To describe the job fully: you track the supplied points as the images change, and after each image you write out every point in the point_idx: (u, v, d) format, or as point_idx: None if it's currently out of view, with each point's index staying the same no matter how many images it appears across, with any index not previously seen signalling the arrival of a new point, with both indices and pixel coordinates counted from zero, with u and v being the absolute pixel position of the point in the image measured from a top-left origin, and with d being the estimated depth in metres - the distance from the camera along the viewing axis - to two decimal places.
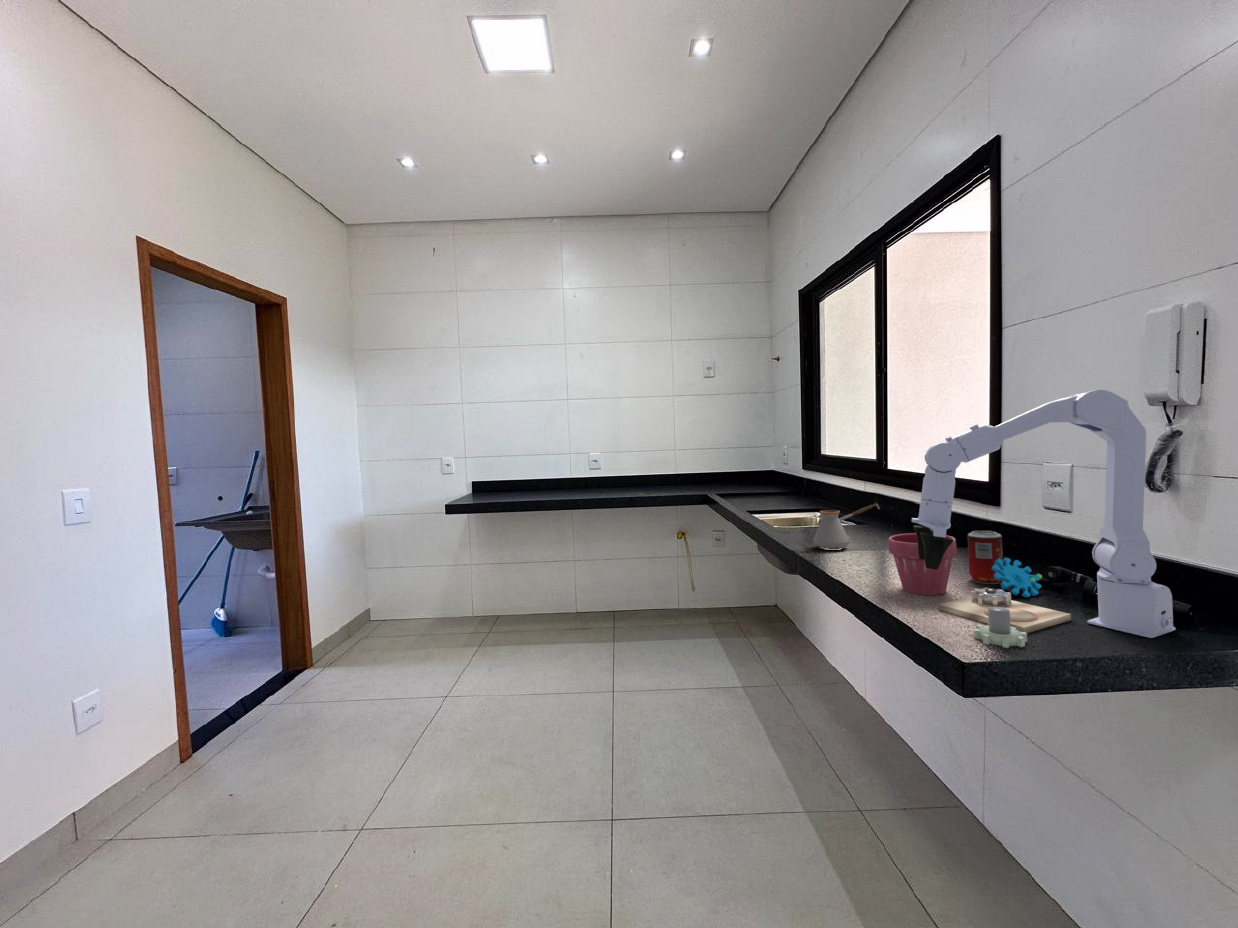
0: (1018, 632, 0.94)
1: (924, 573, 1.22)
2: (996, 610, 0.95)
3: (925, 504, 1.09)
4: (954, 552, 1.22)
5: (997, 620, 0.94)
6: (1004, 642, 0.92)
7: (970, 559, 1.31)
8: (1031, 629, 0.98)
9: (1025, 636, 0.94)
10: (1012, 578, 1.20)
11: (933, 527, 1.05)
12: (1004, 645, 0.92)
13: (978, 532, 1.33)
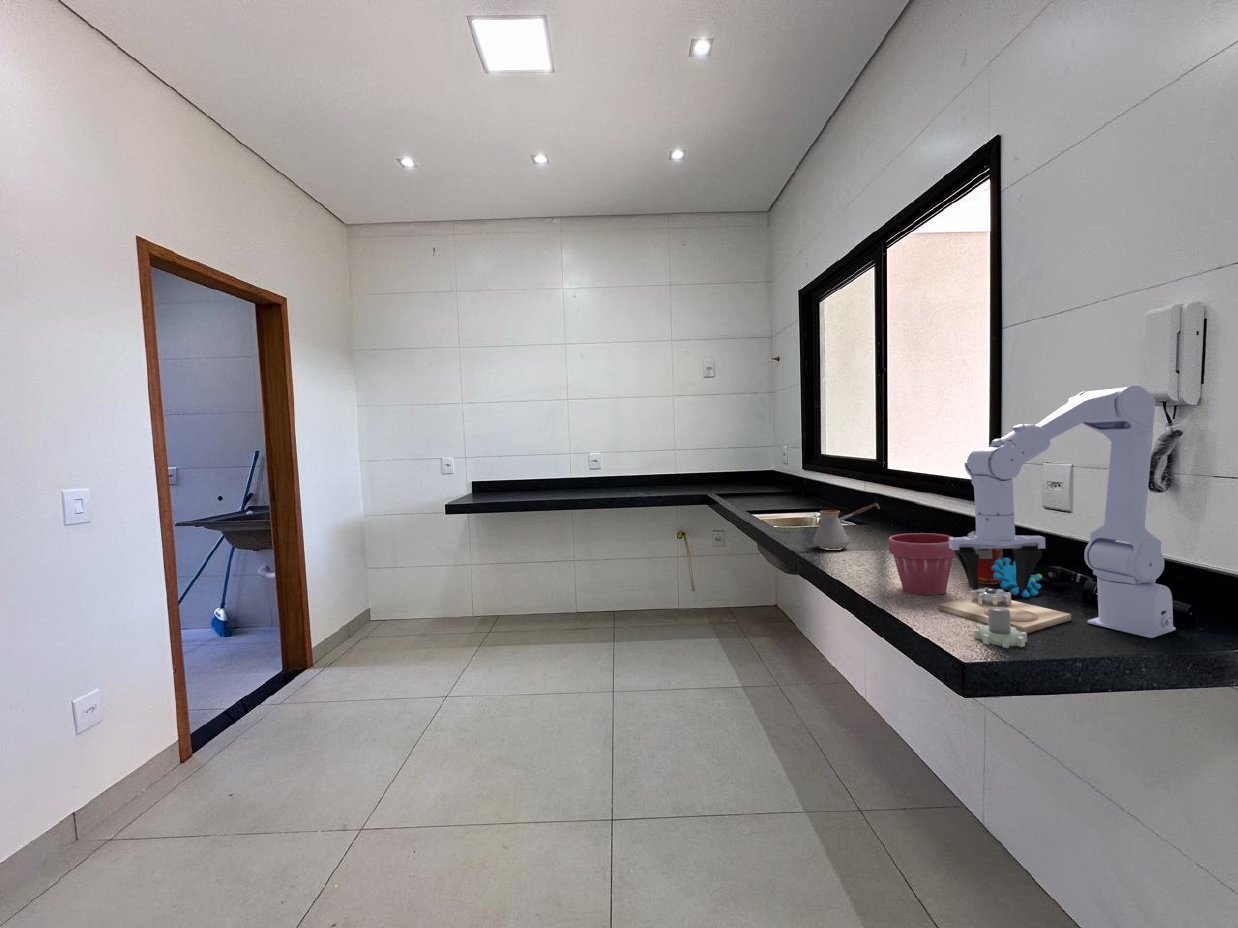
0: (1018, 632, 0.94)
1: (924, 573, 1.22)
2: (996, 610, 0.95)
3: (1011, 519, 0.92)
4: (954, 552, 1.22)
5: (997, 620, 0.94)
6: (1004, 642, 0.92)
7: None
8: (1031, 629, 0.98)
9: (1025, 636, 0.94)
10: (1012, 578, 1.20)
11: (1038, 540, 0.92)
12: (1004, 645, 0.92)
13: None
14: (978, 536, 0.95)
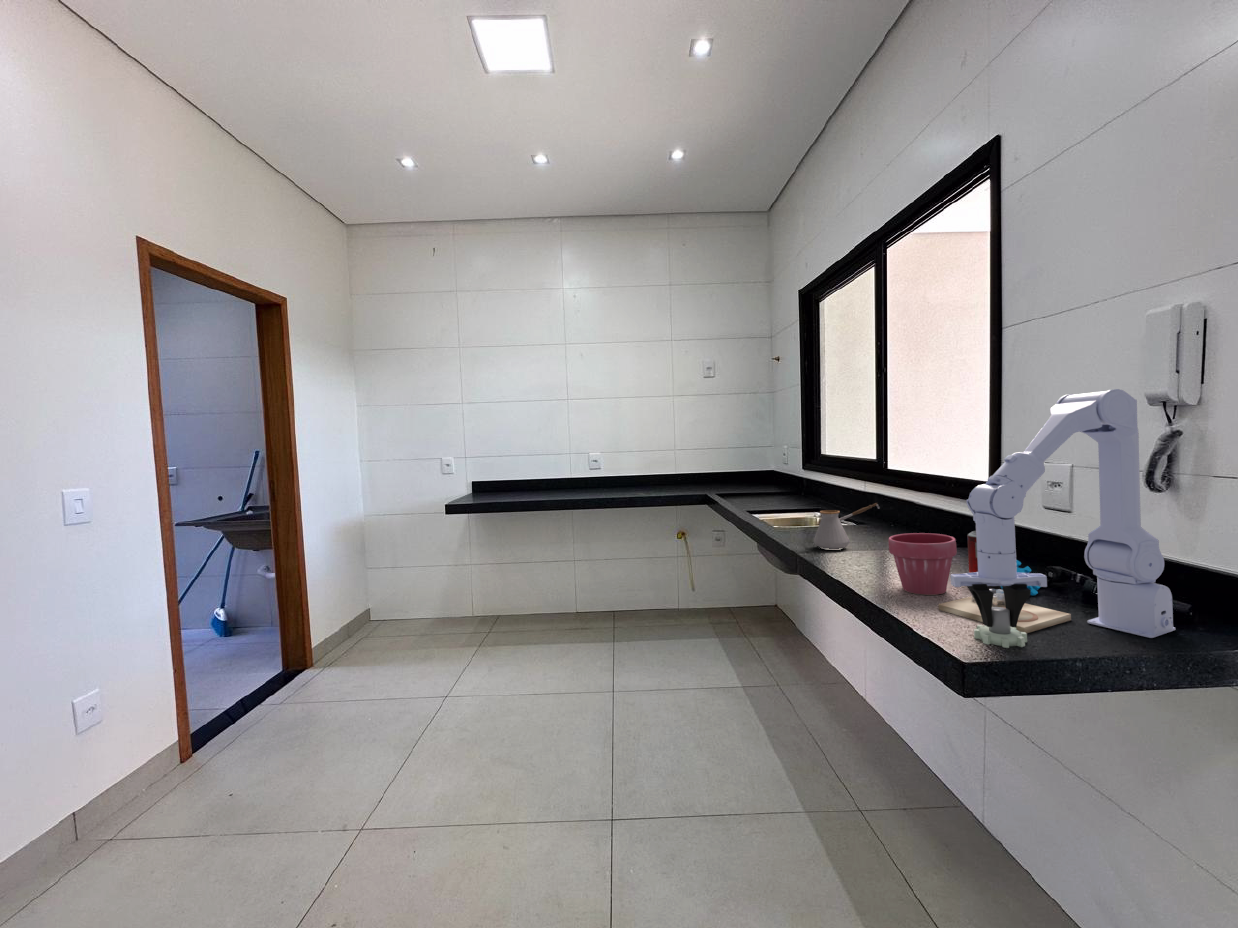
0: (1018, 632, 0.94)
1: (924, 573, 1.22)
2: (996, 610, 0.95)
3: (1013, 558, 0.93)
4: (954, 552, 1.22)
5: (997, 620, 0.94)
6: (1004, 642, 0.92)
7: (970, 559, 1.31)
8: (1031, 629, 0.98)
9: (1025, 636, 0.94)
10: None
11: (1040, 578, 0.93)
12: (1004, 645, 0.92)
13: None
14: (980, 573, 0.96)
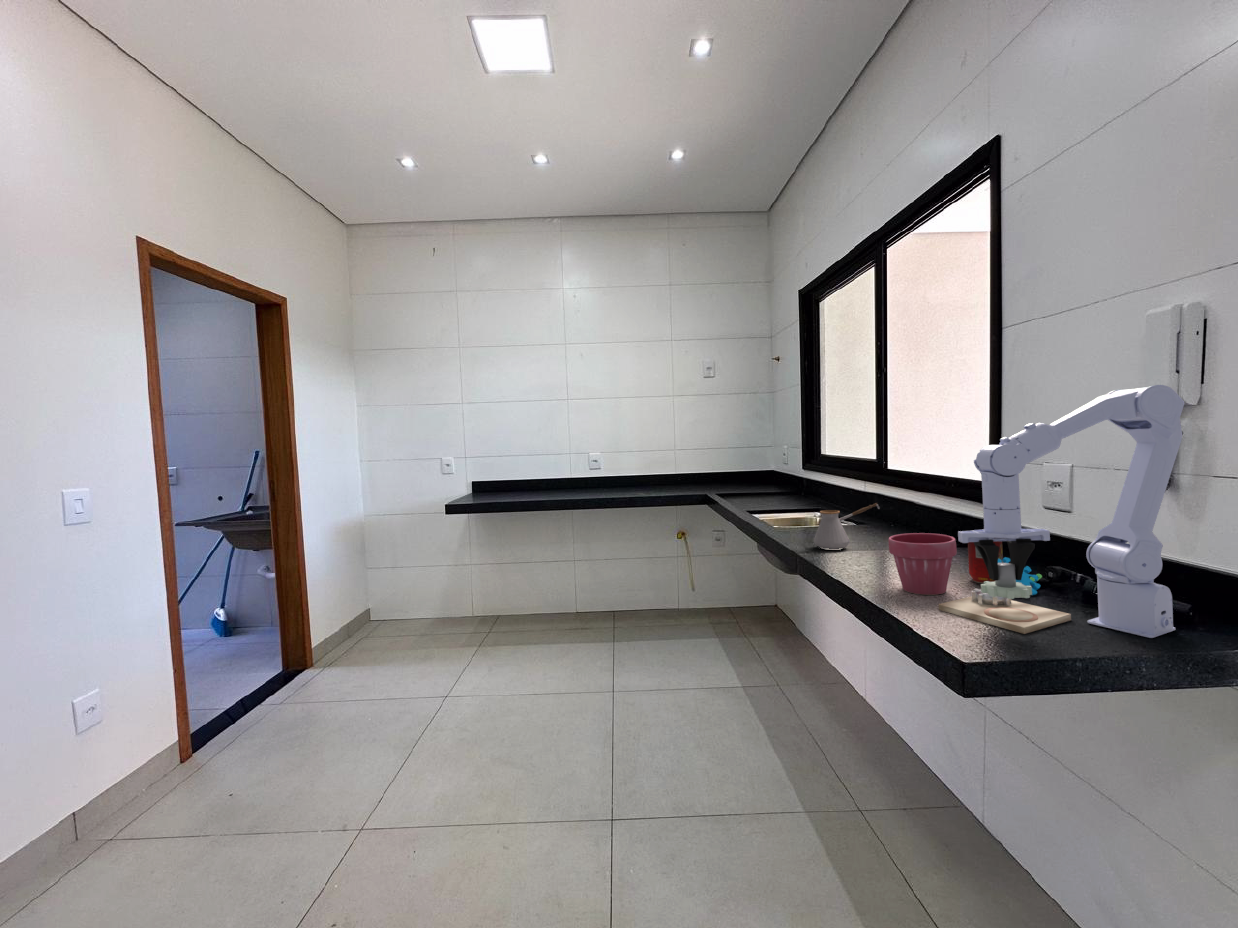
0: (1023, 586, 0.99)
1: (924, 573, 1.22)
2: (1002, 565, 1.00)
3: (1018, 513, 0.97)
4: (954, 552, 1.22)
5: (1002, 574, 0.99)
6: (1009, 594, 0.97)
7: (970, 559, 1.31)
8: (1031, 629, 0.98)
9: (1030, 589, 0.98)
10: None
11: (1043, 532, 0.97)
12: (1009, 596, 0.97)
13: None
14: (986, 529, 1.00)
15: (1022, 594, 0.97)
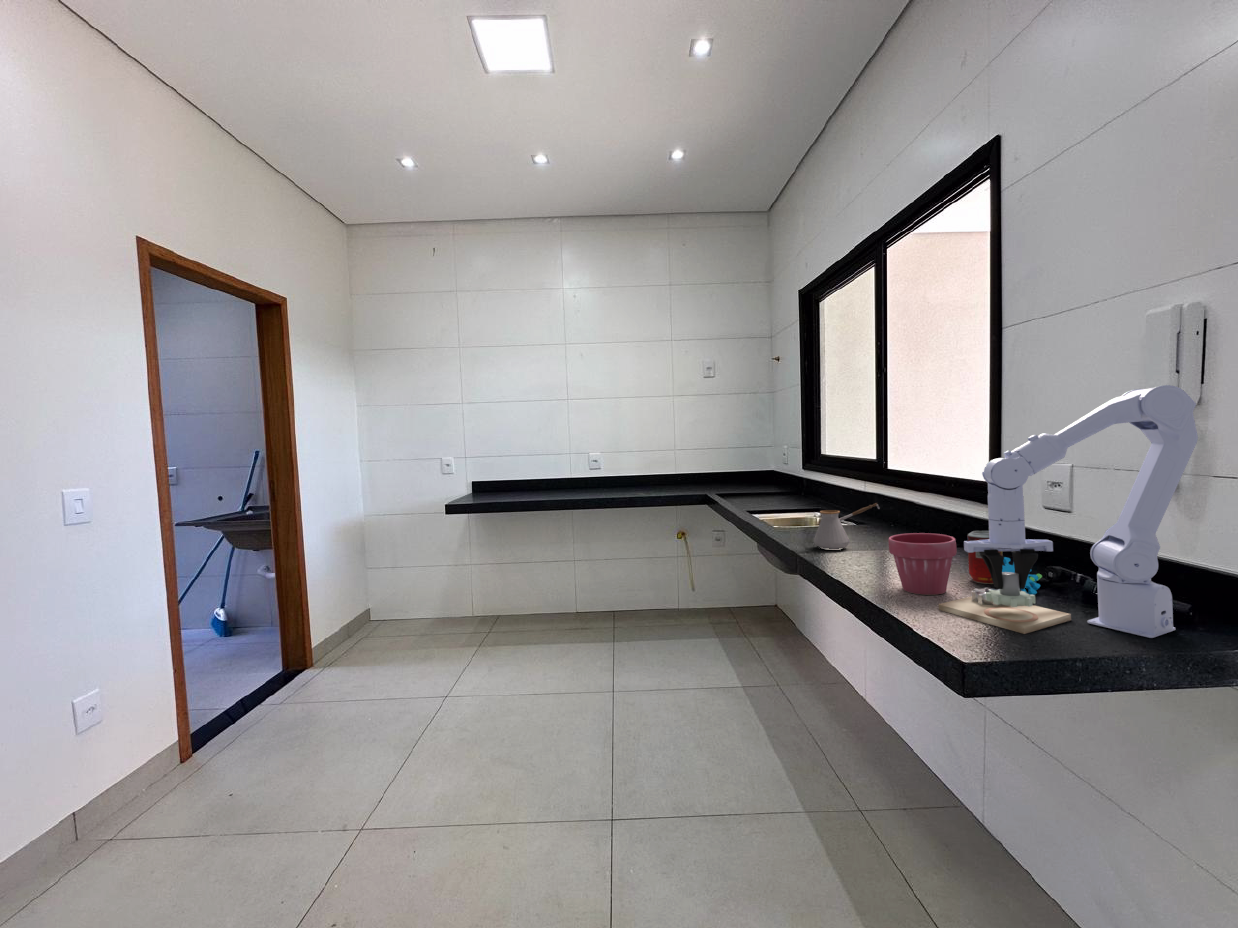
0: (1027, 594, 1.03)
1: (924, 573, 1.22)
2: (1006, 574, 1.04)
3: (1022, 525, 1.01)
4: (954, 552, 1.22)
5: (1006, 582, 1.03)
6: (1012, 602, 1.01)
7: (970, 559, 1.31)
8: (1031, 629, 0.98)
9: (1033, 598, 1.02)
10: None
11: (1047, 543, 1.01)
12: (1013, 604, 1.01)
13: (978, 532, 1.33)
14: (991, 540, 1.04)
15: (1025, 602, 1.01)
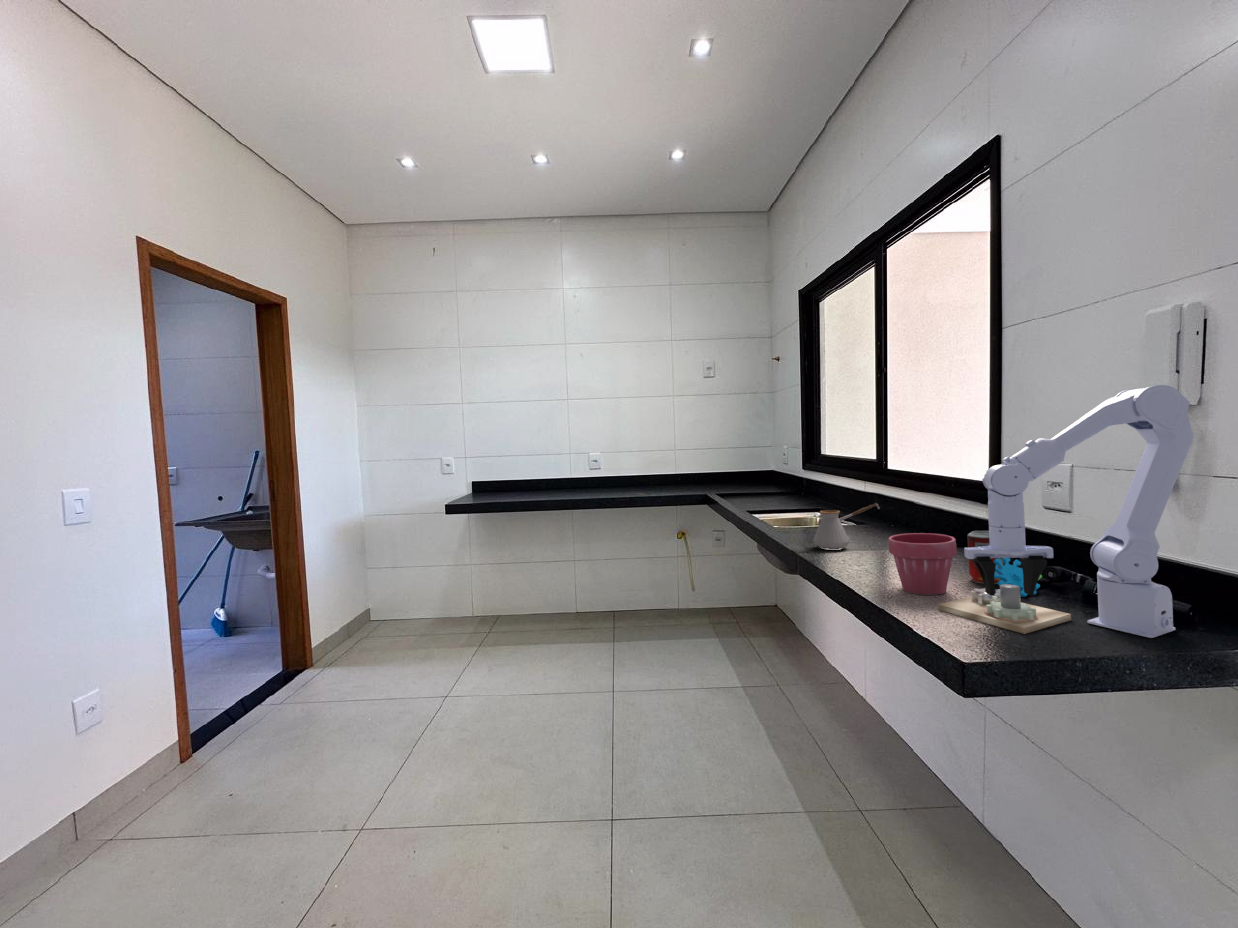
0: (1028, 607, 1.03)
1: (924, 573, 1.22)
2: (1007, 587, 1.03)
3: (1022, 531, 1.01)
4: (954, 552, 1.22)
5: (1007, 596, 1.03)
6: (1013, 615, 1.01)
7: (970, 559, 1.31)
8: (1031, 629, 0.98)
9: (1034, 611, 1.02)
10: (1010, 577, 1.20)
11: (1047, 550, 1.01)
12: (1013, 618, 1.01)
13: (978, 532, 1.33)
14: (991, 546, 1.04)
15: (1026, 616, 1.01)
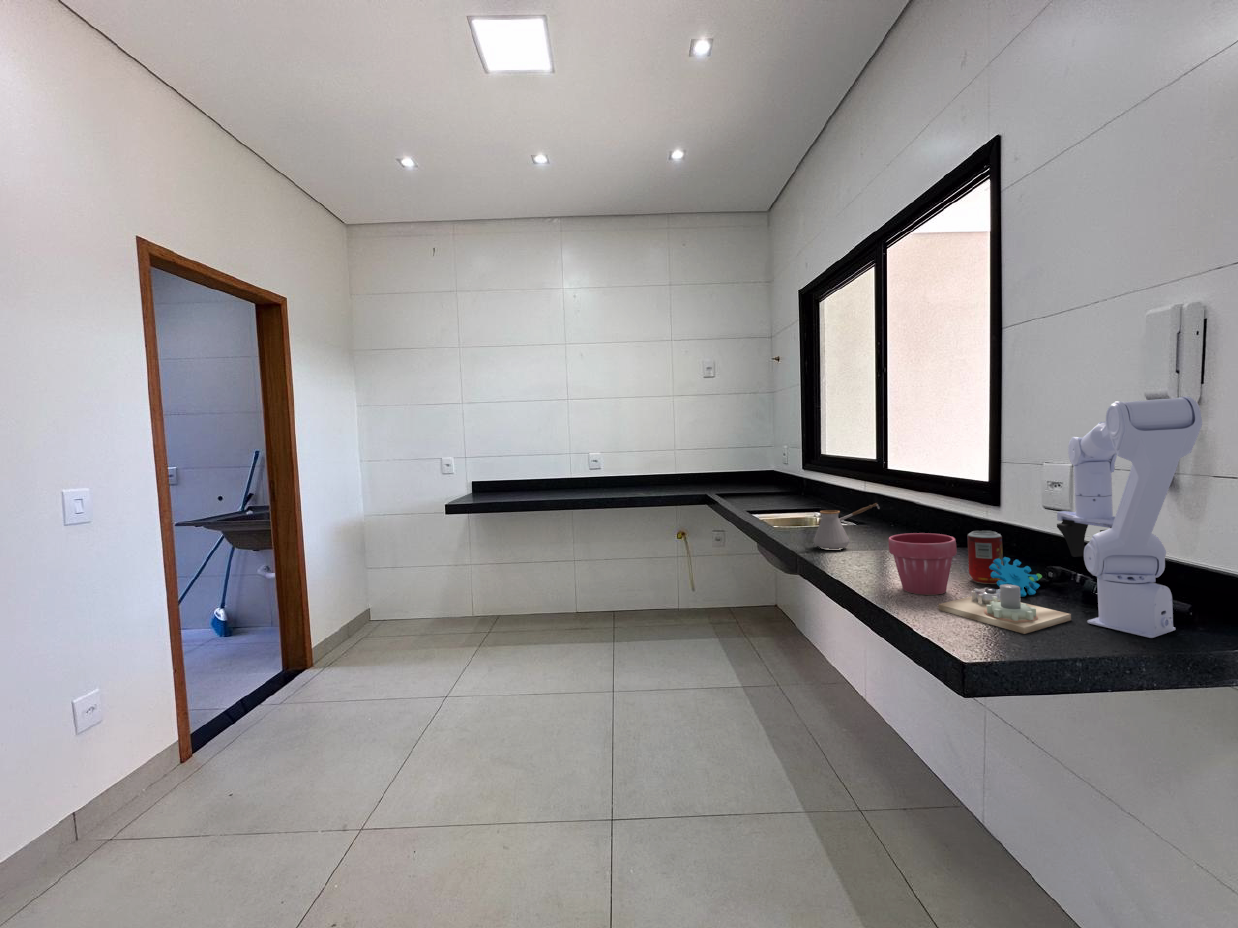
0: (1028, 607, 1.03)
1: (924, 573, 1.22)
2: (1007, 587, 1.03)
3: (1091, 501, 1.06)
4: (954, 552, 1.22)
5: (1007, 596, 1.03)
6: (1013, 615, 1.01)
7: (970, 559, 1.31)
8: (1031, 629, 0.98)
9: (1034, 611, 1.02)
10: (1009, 577, 1.20)
11: None
12: (1013, 618, 1.01)
13: (978, 532, 1.33)
14: None
15: (1026, 616, 1.01)
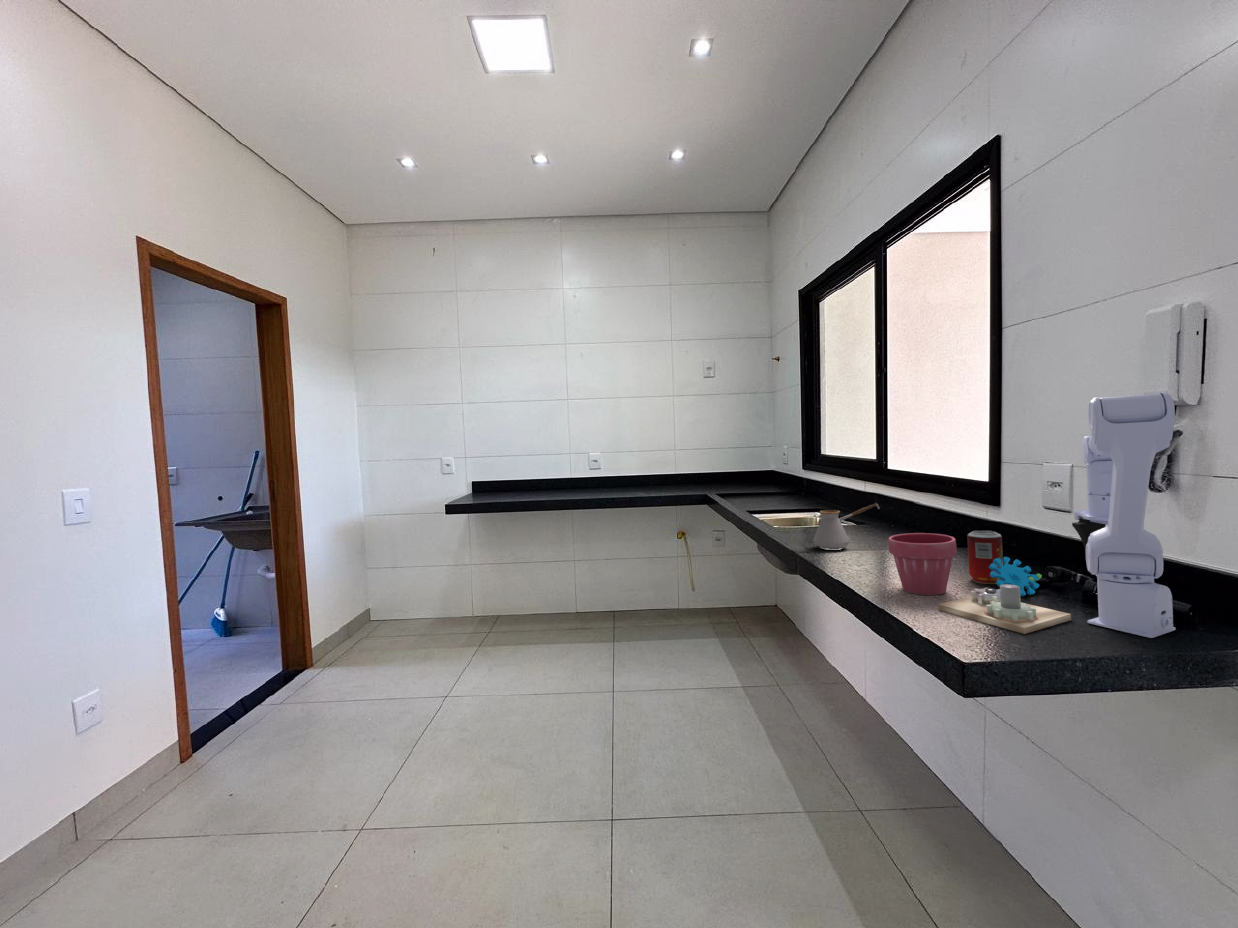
0: (1028, 607, 1.03)
1: (924, 573, 1.22)
2: (1007, 587, 1.03)
3: (1101, 499, 1.07)
4: (954, 552, 1.22)
5: (1007, 596, 1.03)
6: (1013, 615, 1.01)
7: (970, 559, 1.31)
8: (1031, 629, 0.98)
9: (1034, 611, 1.02)
10: (1009, 577, 1.21)
11: None
12: (1013, 618, 1.01)
13: (978, 532, 1.33)
14: None
15: (1026, 616, 1.01)
